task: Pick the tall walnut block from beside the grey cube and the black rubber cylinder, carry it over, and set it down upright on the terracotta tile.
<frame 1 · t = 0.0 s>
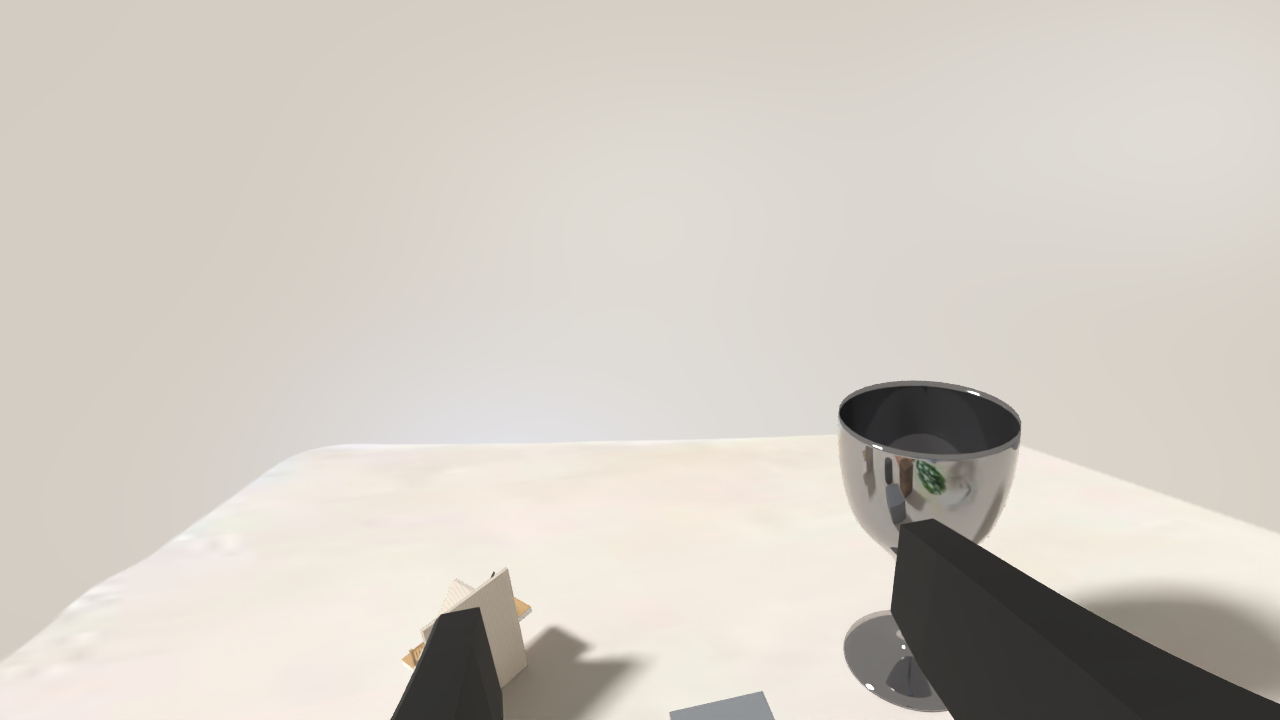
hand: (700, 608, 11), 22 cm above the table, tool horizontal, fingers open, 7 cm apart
wine glass: (910, 659, 36), on the table
architectural model: (481, 699, 37), on the table
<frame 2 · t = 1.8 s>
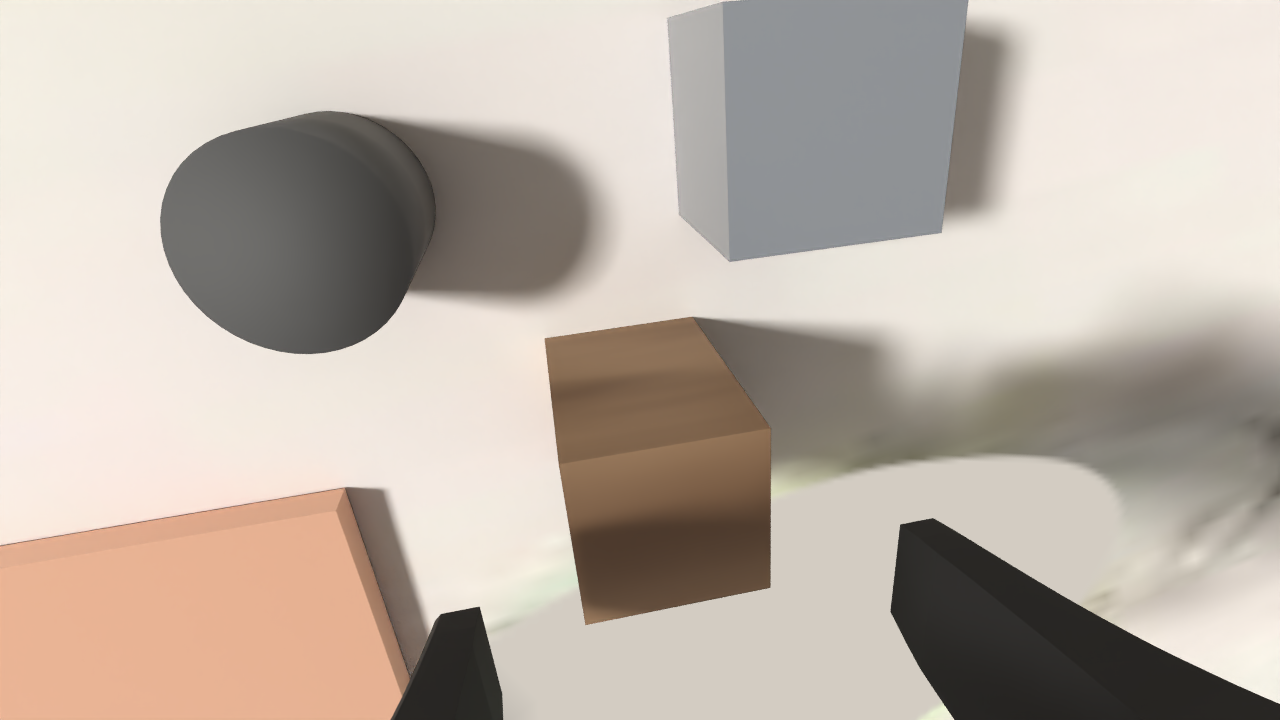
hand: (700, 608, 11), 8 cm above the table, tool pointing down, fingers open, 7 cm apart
terracotta tile: (200, 695, 20), on the table
walnut block: (626, 393, 18), on the table
grey cube: (761, 112, 16), on the table
rubber cylinder: (344, 204, 15), on the table
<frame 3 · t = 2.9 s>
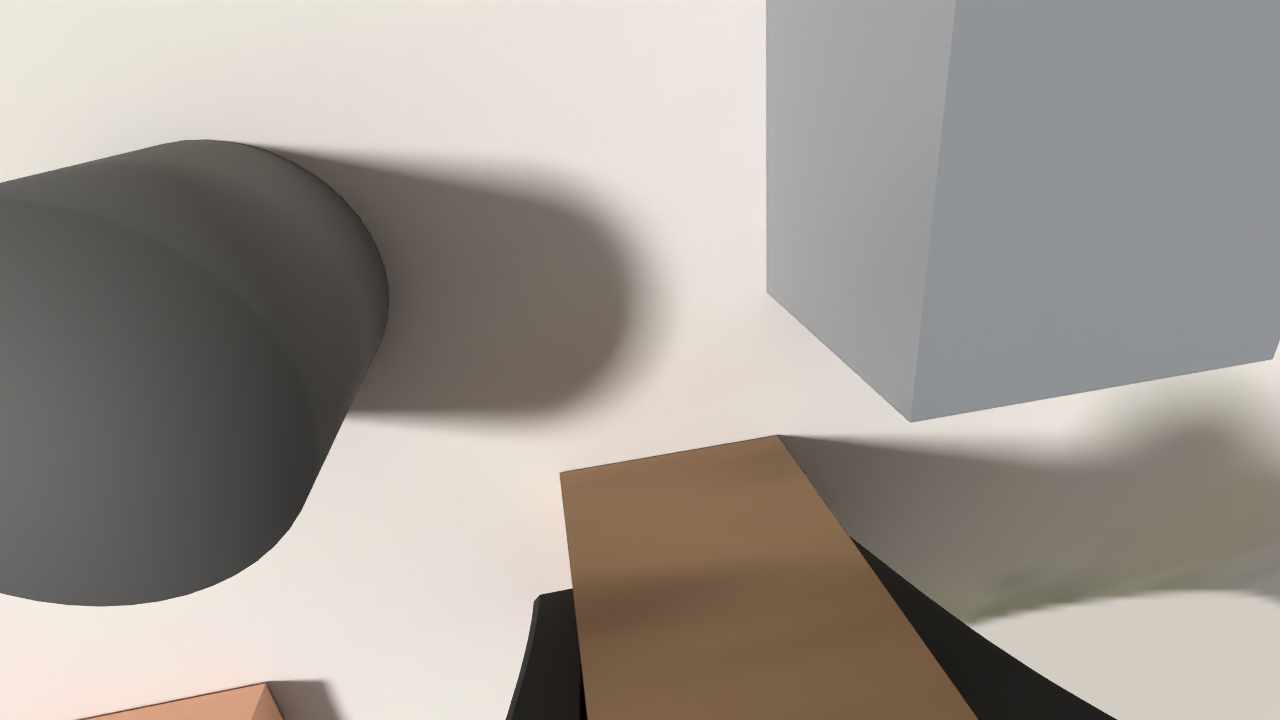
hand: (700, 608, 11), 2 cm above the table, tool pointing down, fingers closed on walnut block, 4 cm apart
walnut block: (677, 540, 13), on the table, touching gripper
grey cube: (900, 136, 10), on the table
rubber cylinder: (239, 287, 9), on the table
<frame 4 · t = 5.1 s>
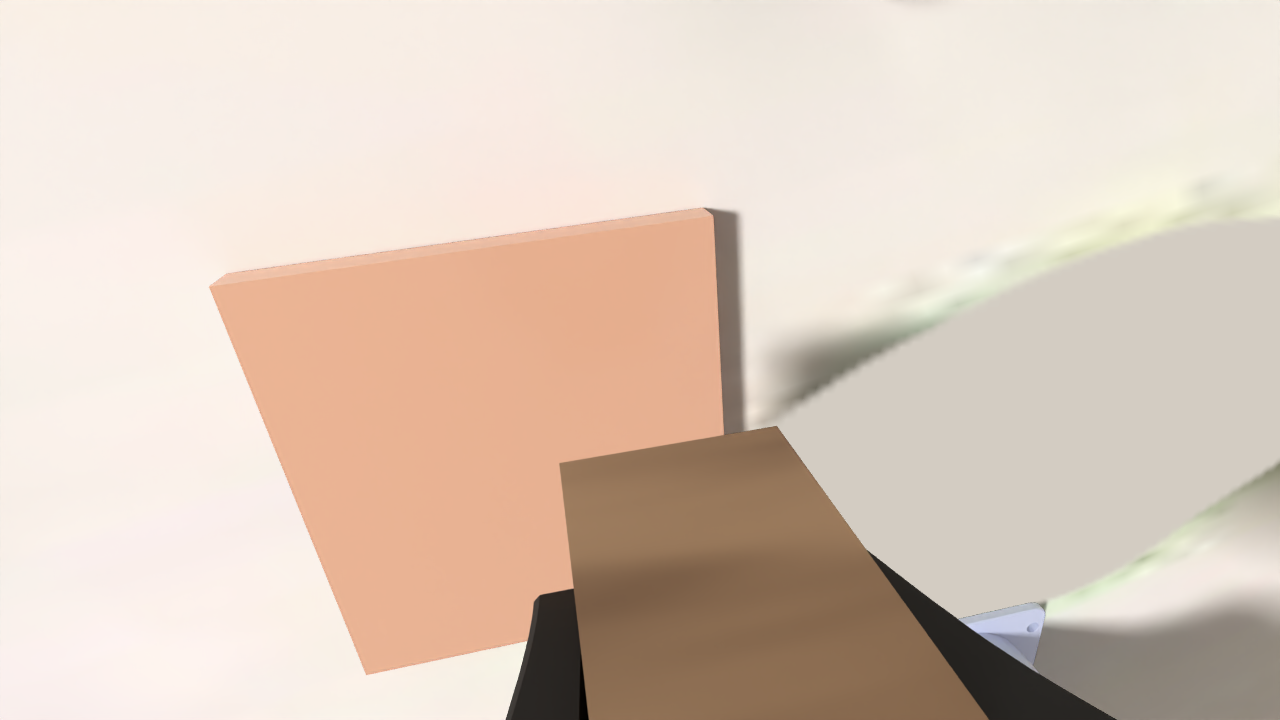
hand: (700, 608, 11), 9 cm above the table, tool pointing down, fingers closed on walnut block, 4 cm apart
terracotta tile: (519, 452, 19), on the table
walnut block: (676, 531, 13), point 7 cm above the table, touching gripper
when the fingers open (4 cm above the table, at t = 7.2 s): walnut block drops 1 cm, resting on terracotta tile.
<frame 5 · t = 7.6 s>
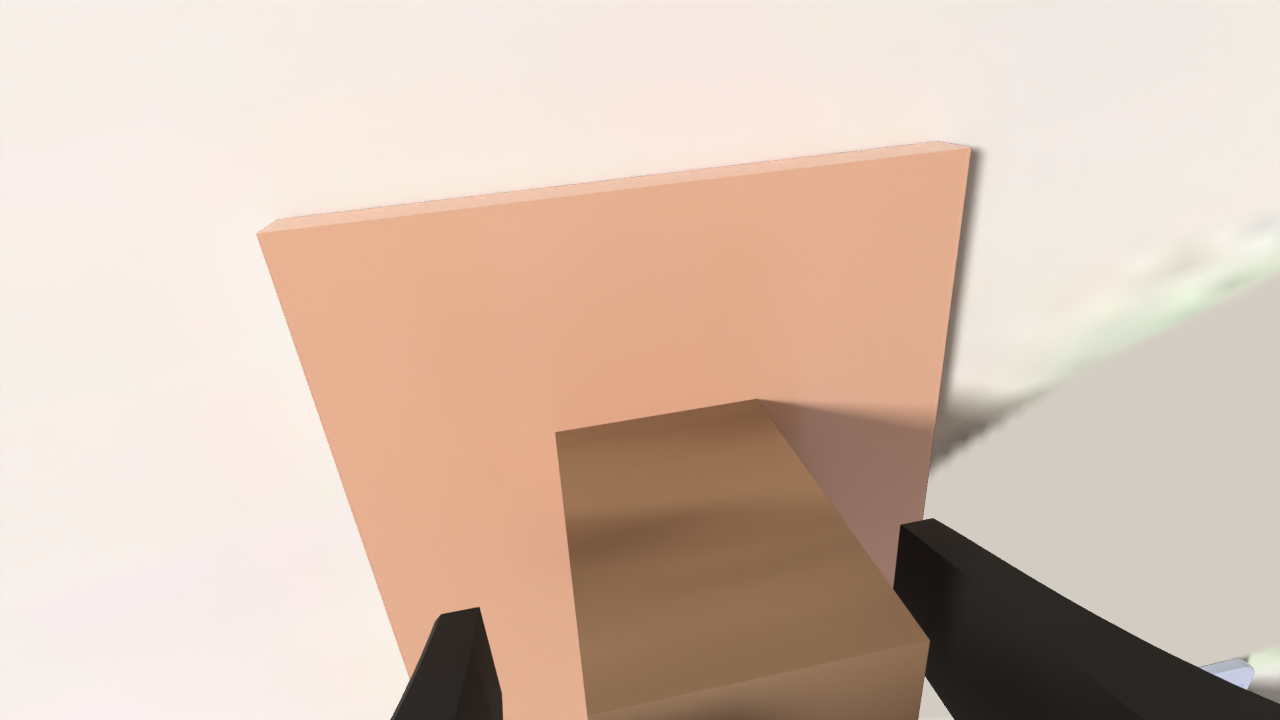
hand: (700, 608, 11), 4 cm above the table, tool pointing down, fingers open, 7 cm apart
terracotta tile: (655, 475, 14), on the table
walnut block: (664, 498, 14), point 1 cm above the table, touching terracotta tile
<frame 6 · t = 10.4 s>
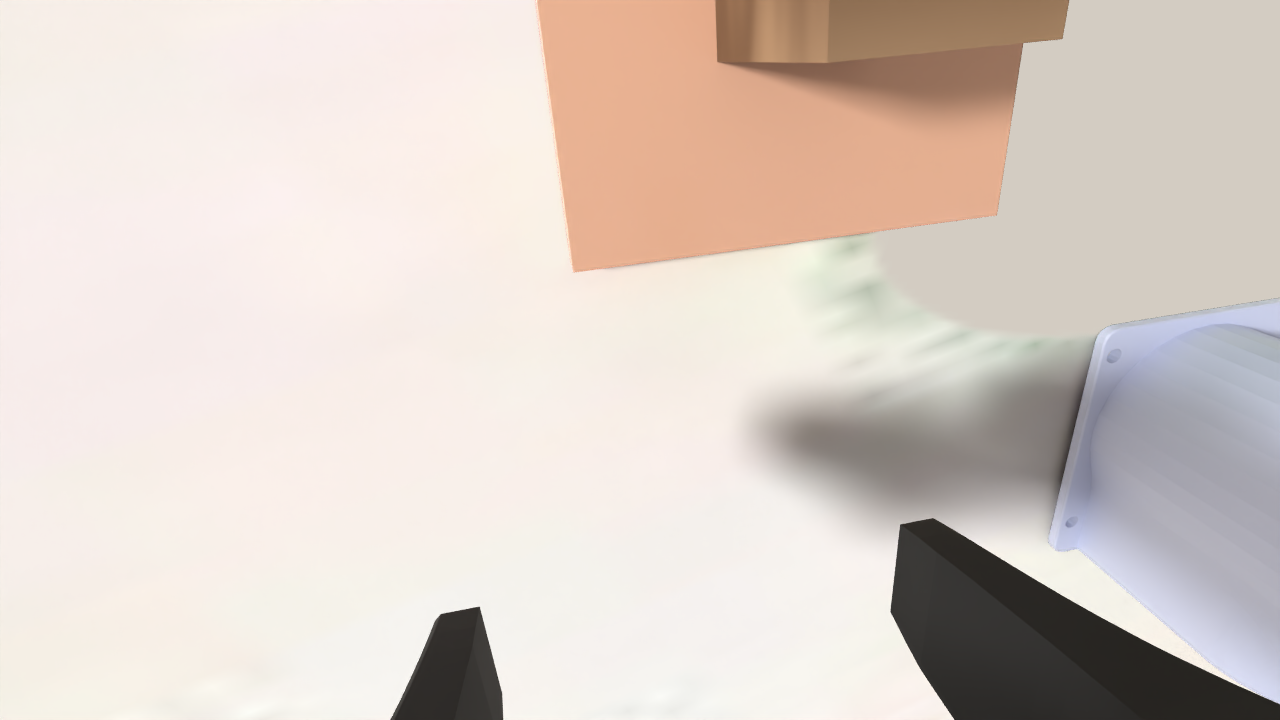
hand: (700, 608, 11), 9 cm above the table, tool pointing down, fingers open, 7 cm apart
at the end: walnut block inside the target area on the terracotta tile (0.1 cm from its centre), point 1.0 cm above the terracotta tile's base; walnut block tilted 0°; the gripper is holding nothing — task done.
